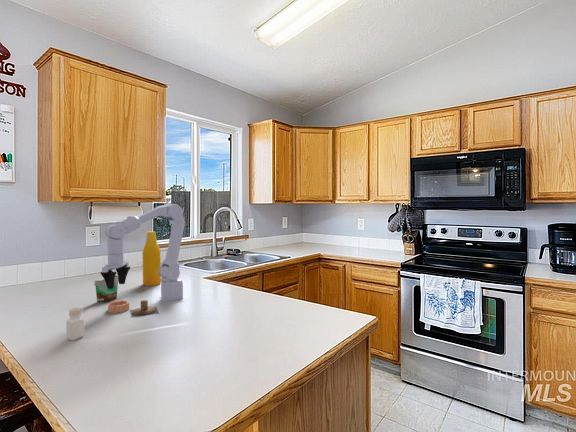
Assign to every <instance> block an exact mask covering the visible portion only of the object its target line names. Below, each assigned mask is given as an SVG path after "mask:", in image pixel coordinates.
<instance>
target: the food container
mask: <svg viewBox="0 0 576 432" xmlns="http://www.w3.org/2000/svg"><path fill="white" fill-rule="evenodd" d="M93 285H94V287H95V295H96V302H97V303H107V302H114V301H116V300H117V299H118V288H119V287H118V285H119V281H118V275H115V279H114V288H113V289H108V288H107V285H106V282H105V280H104V279H102V280H94V284H93Z"/></svg>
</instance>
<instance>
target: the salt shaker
mask: <svg viewBox="0 0 576 432" xmlns="http://www.w3.org/2000/svg"><path fill="white" fill-rule="evenodd" d="M68 311H69V312H68V315H69V318H68V319H67V320H66V339H68V340H70V341H77V340H79V339H81V338H83V337H84V336H85V319H84V317H82V316H81V315H82V309H81V308H80V307H74V308H70V309H68Z"/></svg>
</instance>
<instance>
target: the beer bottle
mask: <svg viewBox="0 0 576 432" xmlns="http://www.w3.org/2000/svg"><path fill="white" fill-rule="evenodd" d="M157 241H158V240H157V234H156V231H147V232H146V241H145V244H144V246H143V249H142V285H143V286H144V287H145V286H146V287H153V286H158V285H161V276H160V275H159V268H160V267H161V265H162V262H161V261H162V260H161V249H160V245H159V244H158V242H157Z"/></svg>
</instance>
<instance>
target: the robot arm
mask: <svg viewBox="0 0 576 432" xmlns="http://www.w3.org/2000/svg"><path fill="white" fill-rule="evenodd" d="M183 213H184V209H183V208H181V206H180V205H178V204H177V203H172V204H169V203H164V204H162V205H158V206H156V207H154V208H152V209H151V210H148V211H146V212H144V213H143V214H141V215H139V216H135V215H132V216H131V215H128V216H126V218H125V219H124V220H123V219H122V220H121V221H116V222H115V224H110V225H108V226H107V228H105V231H104V234H105V235H106V237H107V263H105V266H103V267H101V271H100V275H101V276H102V278H103V280H105V282H106V285H107V288H108V289H113V288H114V279H115V276H118V281H119V282H118V285H125V284H126V281H127V276H128V273H129V272H130V269H131V266H129V261H127V260H124V237H125V235H128V234H130V233H132V232H134V231H136V230H137V229H140V228H141V226H142V224H143V223H146V222H148V221H150V220H153V219H155V218H157V217H163V218H165V219H166V220H168V221H169V223H170V225H171V226H172V227H171V231H170V236H169V239H168V246H167V250H166V255H165V259H163V261H162V262H161V267H160V268H159V275H160V276H161V283H160V296H159V300H160V301H161V302H168V301H174V300H182V299H184V289H183V287H184V284H183V279H182V278H179V277H180V275H181V272H180V271H181V270H180V263H179V255H180V254H179V253H180V250H181V246H182V245H181V244H182V242H183V241H182V240H183V237H184V236H183V234H184V230H185V226H186V222H185V217H184V214H183ZM114 270H115V271H114Z"/></svg>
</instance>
